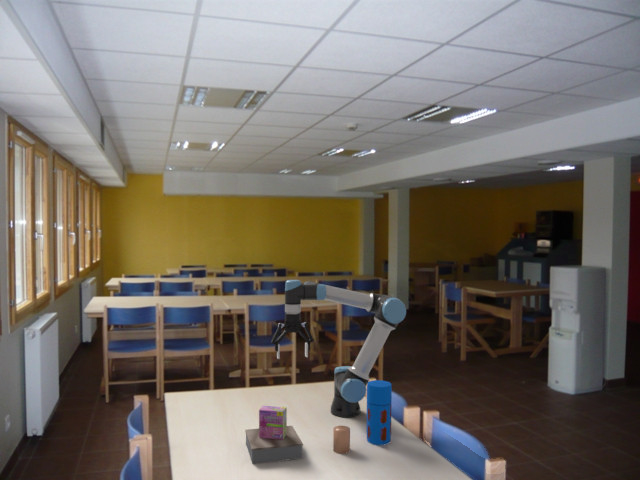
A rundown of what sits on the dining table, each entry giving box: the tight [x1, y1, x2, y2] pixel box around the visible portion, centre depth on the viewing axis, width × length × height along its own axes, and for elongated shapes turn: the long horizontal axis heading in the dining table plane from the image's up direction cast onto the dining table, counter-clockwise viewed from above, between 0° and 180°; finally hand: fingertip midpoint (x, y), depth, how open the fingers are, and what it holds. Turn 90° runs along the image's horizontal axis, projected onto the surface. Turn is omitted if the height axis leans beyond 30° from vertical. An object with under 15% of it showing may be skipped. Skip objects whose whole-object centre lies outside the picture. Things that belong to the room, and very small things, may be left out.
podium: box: [244, 425, 304, 464], centre depth 217 cm, size 21×21×6 cm
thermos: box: [365, 379, 393, 446], centre depth 230 cm, size 11×11×25 cm
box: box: [258, 405, 288, 440], centre depth 217 cm, size 10×6×12 cm, turn 79°
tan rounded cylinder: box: [332, 425, 351, 455], centre depth 219 cm, size 7×7×9 cm
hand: (292, 357), depth 248 cm, fingers open, 13 cm apart
